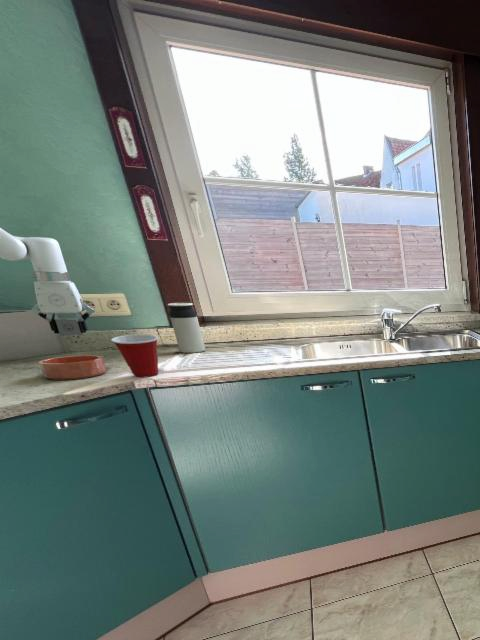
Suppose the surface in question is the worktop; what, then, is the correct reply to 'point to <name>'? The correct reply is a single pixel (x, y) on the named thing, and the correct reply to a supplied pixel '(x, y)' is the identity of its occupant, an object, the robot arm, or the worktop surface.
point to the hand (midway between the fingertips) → (70, 332)
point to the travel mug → (186, 328)
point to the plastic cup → (139, 353)
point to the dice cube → (68, 326)
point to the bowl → (72, 367)
